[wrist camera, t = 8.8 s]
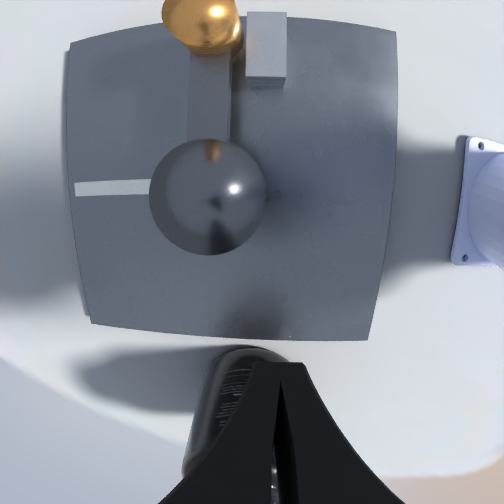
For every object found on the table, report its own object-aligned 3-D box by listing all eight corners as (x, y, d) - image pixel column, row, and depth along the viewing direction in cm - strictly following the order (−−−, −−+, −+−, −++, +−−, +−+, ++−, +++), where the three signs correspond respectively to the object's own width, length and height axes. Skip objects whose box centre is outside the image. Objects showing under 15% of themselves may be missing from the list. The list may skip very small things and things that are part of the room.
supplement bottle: (188, 386, 22) (146, 529, 11) (237, 326, 20) (206, 501, 9) (265, 423, 23) (258, 559, 12) (321, 372, 21) (344, 530, 10)
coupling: (263, 246, 15) (260, 285, 11) (162, 241, 15) (129, 275, 11) (272, 17, 11) (273, -23, 7) (166, 21, 11) (132, -11, 8)
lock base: (389, 36, 13) (418, 14, 10) (363, 331, 20) (379, 370, 16) (78, 46, 14) (40, 33, 10) (97, 316, 20) (70, 348, 17)
